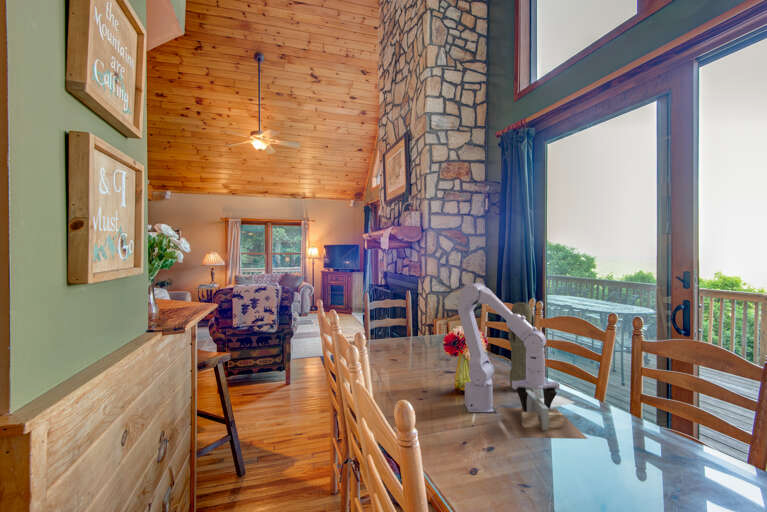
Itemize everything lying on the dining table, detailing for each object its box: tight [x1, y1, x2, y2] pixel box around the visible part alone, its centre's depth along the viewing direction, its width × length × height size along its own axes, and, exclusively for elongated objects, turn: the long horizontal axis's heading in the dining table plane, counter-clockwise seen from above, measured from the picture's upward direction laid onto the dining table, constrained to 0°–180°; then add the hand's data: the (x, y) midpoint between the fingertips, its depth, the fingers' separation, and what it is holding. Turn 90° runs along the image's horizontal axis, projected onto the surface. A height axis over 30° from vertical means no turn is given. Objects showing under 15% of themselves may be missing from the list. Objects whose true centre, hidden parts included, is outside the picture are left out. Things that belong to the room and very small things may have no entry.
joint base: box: [497, 407, 588, 440], centre depth 111 cm, size 20×20×5 cm
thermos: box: [507, 301, 535, 393], centre depth 141 cm, size 9×12×35 cm
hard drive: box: [539, 395, 576, 409], centre depth 127 cm, size 2×8×12 cm
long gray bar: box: [526, 390, 549, 430], centre depth 113 cm, size 2×15×6 cm, turn 177°
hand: (535, 410), depth 113 cm, fingers open, 6 cm apart
